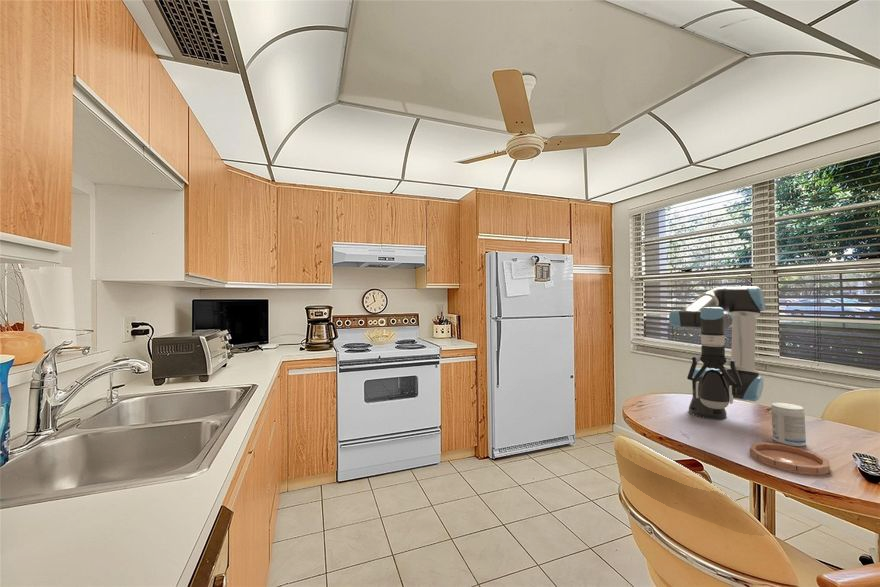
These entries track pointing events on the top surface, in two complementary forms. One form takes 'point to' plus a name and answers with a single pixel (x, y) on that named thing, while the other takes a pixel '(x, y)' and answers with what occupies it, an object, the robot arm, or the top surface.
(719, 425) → the top surface
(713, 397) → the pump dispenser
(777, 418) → the supplement tub
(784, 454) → the round tray
